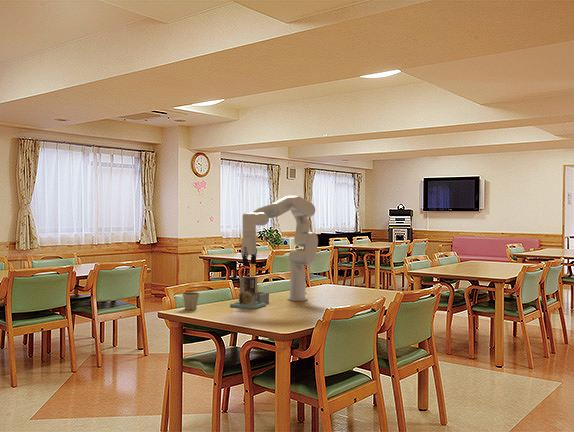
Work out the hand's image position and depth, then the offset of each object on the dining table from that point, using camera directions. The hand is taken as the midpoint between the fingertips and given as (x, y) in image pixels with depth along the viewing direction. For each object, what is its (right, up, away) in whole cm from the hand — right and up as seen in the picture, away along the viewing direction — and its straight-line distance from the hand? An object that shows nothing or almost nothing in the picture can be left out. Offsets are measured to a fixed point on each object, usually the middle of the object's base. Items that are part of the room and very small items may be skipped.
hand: (249, 264), depth 319 cm
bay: (+1, -24, +12) cm, 27 cm away
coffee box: (-1, -23, 0) cm, 23 cm away
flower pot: (-32, -24, -12) cm, 41 cm away
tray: (-1, -24, -1) cm, 24 cm away
